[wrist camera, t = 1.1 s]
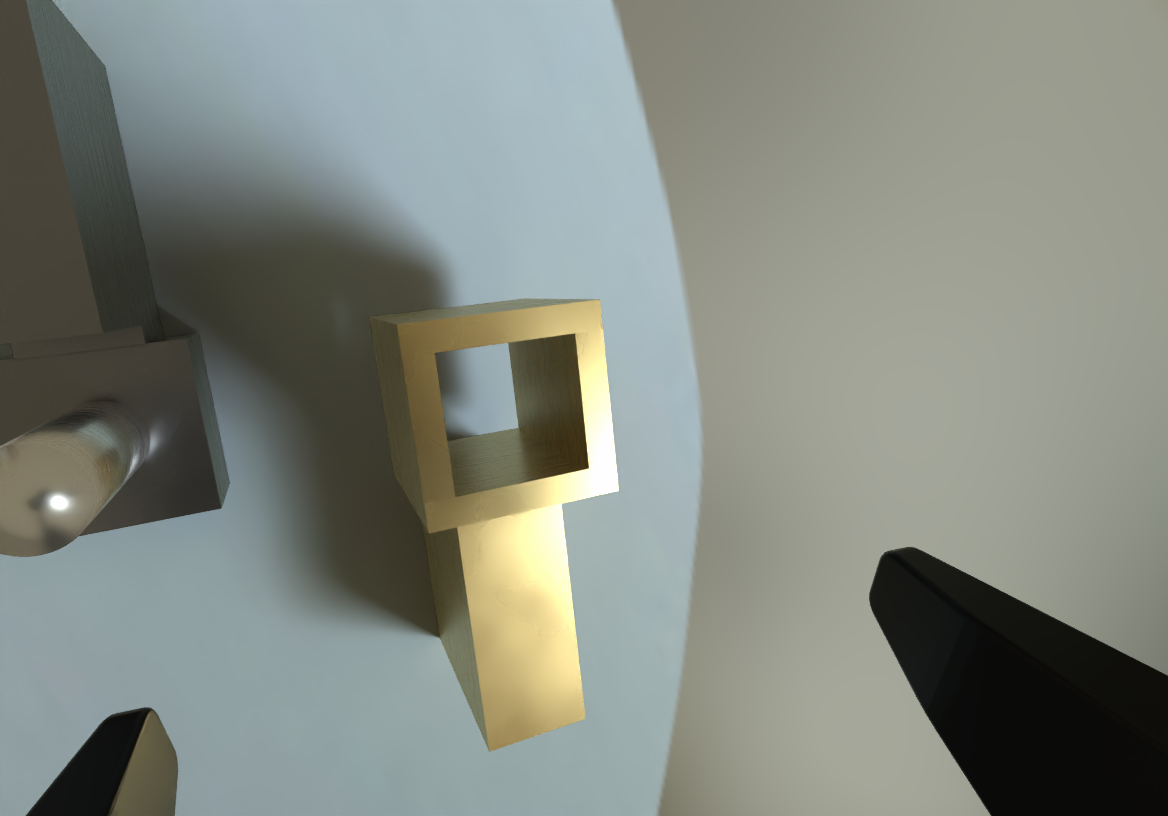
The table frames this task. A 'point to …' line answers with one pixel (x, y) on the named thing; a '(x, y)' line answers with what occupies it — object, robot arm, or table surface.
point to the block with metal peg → (84, 314)
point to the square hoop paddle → (503, 497)
